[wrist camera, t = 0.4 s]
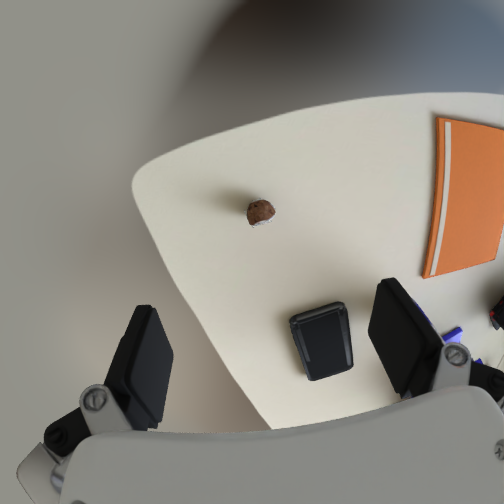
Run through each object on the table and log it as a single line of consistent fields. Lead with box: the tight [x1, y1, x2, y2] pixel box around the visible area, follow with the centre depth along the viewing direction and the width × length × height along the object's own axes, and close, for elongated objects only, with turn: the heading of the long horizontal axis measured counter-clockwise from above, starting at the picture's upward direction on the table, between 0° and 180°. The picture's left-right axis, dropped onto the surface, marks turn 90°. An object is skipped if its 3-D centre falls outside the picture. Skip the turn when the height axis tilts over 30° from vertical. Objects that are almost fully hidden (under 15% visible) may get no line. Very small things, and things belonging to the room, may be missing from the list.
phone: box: [289, 302, 354, 381], centre depth 37 cm, size 8×1×15 cm
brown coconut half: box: [244, 198, 276, 227], centre depth 26 cm, size 3×2×4 cm
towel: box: [422, 117, 504, 279], centre depth 28 cm, size 22×18×1 cm
